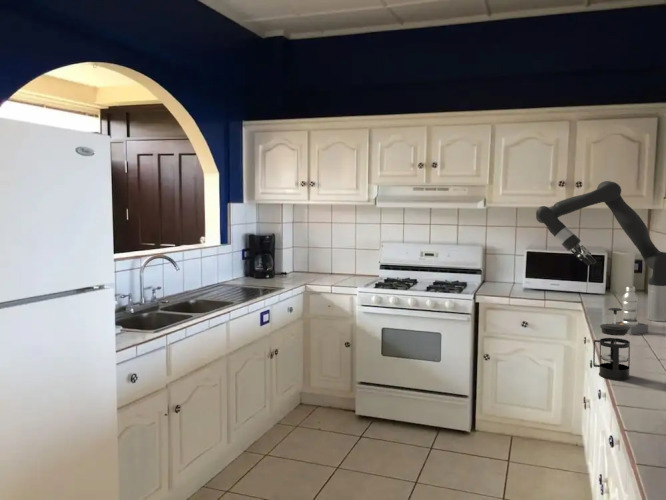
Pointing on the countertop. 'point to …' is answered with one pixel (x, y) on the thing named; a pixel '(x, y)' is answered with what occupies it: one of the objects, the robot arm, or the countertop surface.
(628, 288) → the silver metal bottle
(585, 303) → the countertop surface
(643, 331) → the socket collar
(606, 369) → the french press
